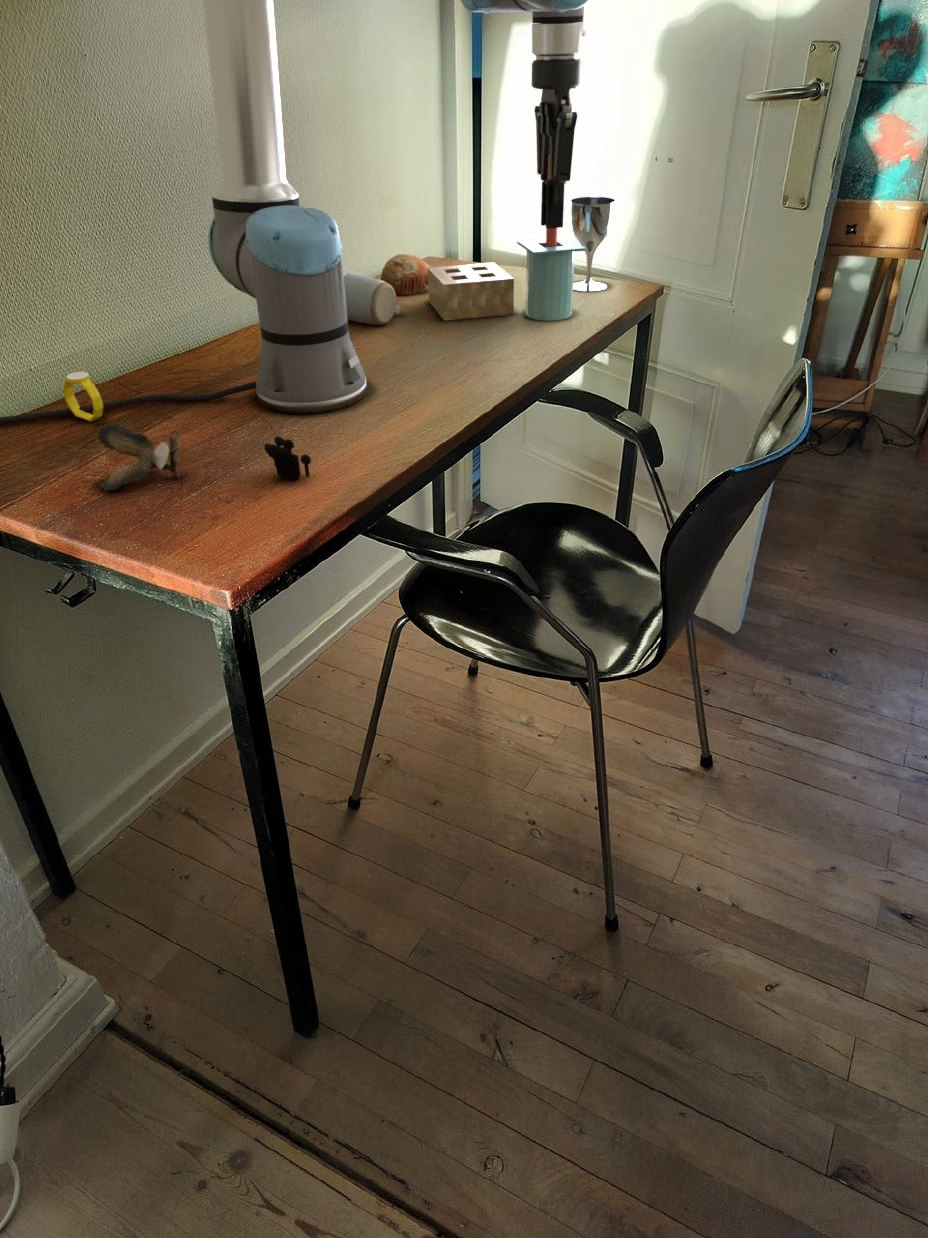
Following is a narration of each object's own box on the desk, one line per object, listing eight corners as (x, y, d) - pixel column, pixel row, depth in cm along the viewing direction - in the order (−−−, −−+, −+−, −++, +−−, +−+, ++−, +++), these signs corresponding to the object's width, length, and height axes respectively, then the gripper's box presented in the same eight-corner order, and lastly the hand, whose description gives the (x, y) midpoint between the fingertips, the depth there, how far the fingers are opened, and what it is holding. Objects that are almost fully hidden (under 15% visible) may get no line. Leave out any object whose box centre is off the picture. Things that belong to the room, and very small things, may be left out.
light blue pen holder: (533, 322, 152) (535, 253, 146) (519, 309, 158) (520, 243, 152) (578, 318, 154) (581, 250, 147) (562, 305, 160) (565, 240, 154)
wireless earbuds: (316, 483, 102) (311, 441, 99) (301, 491, 100) (295, 449, 98) (272, 469, 105) (266, 428, 103) (257, 477, 104) (250, 436, 101)
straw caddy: (444, 320, 154) (443, 284, 150) (428, 301, 164) (427, 267, 160) (513, 314, 156) (514, 278, 153) (494, 296, 166) (494, 262, 163)
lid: (533, 254, 145) (533, 252, 145) (517, 243, 152) (517, 240, 152) (585, 250, 147) (585, 247, 147) (567, 239, 154) (567, 236, 154)
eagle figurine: (179, 449, 108) (99, 444, 105) (179, 412, 102) (93, 407, 99) (179, 503, 105) (96, 500, 102) (179, 469, 99) (91, 466, 96)
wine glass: (618, 287, 170) (624, 200, 161) (585, 294, 166) (590, 206, 157) (590, 278, 175) (594, 194, 167) (558, 285, 171) (561, 200, 163)
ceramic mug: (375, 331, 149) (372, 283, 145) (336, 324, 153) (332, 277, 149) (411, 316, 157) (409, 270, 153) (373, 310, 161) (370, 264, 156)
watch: (65, 417, 120) (52, 374, 117) (81, 411, 122) (70, 368, 119) (94, 426, 118) (83, 381, 114) (111, 419, 120) (100, 375, 116)
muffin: (390, 301, 178) (370, 263, 174) (436, 275, 176) (417, 237, 172) (392, 315, 170) (371, 276, 165) (440, 288, 168) (420, 248, 164)
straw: (547, 280, 152) (550, 155, 141) (543, 278, 153) (546, 153, 143) (557, 279, 152) (561, 154, 141) (553, 277, 154) (557, 153, 143)
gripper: (598, 58, 129) (589, 232, 143) (563, 54, 141) (558, 215, 155) (548, 60, 128) (544, 236, 141) (518, 56, 140) (516, 219, 153)
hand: (551, 225), depth 148 cm, fingers closed on straw, 2 cm apart
